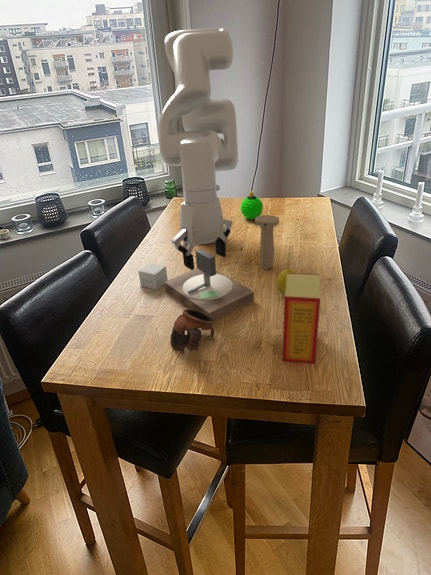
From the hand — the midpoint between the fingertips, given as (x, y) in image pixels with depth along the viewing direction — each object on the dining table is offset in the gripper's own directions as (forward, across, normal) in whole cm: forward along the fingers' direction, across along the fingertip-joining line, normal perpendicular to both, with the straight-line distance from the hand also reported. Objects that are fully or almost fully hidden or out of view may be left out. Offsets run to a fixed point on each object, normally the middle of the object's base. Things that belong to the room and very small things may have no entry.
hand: (205, 261), depth 105 cm
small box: (+11, +7, -16) cm, 21 cm away
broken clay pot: (+11, +14, +13) cm, 22 cm away
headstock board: (+10, 0, 0) cm, 11 cm away
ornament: (+10, -44, -32) cm, 56 cm away
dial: (+7, 0, 0) cm, 8 cm away
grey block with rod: (+7, +2, 0) cm, 7 cm away
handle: (+10, -22, -2) cm, 25 cm away
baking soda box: (+11, -2, +30) cm, 32 cm away
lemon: (+11, -15, +14) cm, 23 cm away
